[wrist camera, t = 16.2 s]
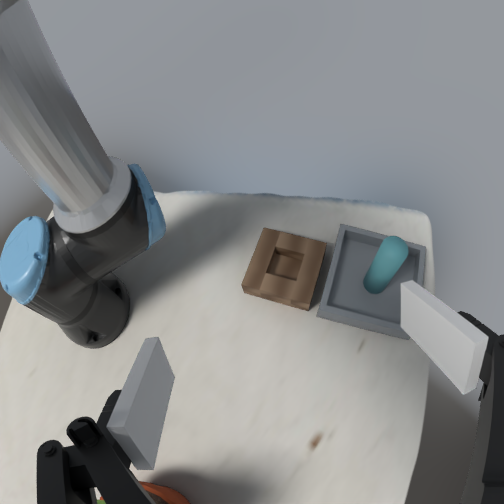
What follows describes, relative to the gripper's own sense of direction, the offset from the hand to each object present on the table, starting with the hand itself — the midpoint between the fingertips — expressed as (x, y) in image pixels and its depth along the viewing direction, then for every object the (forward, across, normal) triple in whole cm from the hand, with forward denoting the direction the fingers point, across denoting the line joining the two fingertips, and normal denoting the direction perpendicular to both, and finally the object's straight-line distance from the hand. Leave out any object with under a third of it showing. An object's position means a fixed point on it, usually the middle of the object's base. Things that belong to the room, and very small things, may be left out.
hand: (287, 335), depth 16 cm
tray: (+32, +18, -14) cm, 39 cm away
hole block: (+36, +4, -10) cm, 38 cm away
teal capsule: (+31, +18, -14) cm, 39 cm away
